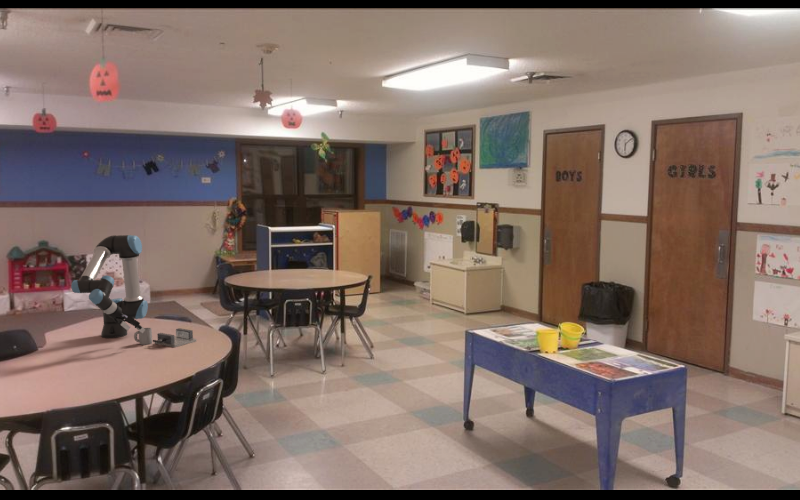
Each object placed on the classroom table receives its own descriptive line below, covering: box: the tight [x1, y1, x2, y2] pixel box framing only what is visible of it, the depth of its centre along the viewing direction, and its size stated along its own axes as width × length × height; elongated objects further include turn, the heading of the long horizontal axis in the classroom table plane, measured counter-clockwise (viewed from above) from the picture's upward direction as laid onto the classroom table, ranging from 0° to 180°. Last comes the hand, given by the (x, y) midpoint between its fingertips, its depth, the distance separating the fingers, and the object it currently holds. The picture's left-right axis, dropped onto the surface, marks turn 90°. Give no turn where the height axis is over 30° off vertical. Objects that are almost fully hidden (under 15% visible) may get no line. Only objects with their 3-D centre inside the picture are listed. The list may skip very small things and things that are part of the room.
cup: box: [133, 327, 153, 346], centre depth 383 cm, size 7×10×9 cm
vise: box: [152, 328, 198, 348], centre depth 383 cm, size 18×22×6 cm
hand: (136, 330), depth 378 cm, fingers open, 13 cm apart
